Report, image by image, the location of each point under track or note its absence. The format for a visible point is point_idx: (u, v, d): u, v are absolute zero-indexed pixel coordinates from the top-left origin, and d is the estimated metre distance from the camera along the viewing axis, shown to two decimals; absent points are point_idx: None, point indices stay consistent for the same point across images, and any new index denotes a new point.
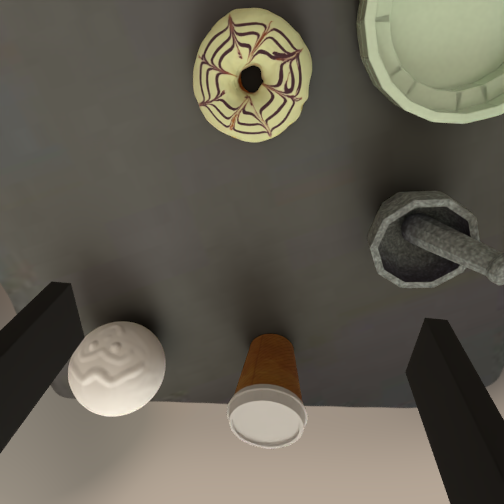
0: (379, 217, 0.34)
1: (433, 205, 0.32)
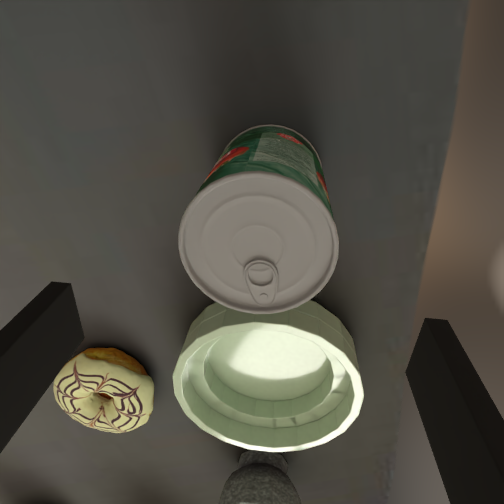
0: (220, 499, 0.40)
1: None
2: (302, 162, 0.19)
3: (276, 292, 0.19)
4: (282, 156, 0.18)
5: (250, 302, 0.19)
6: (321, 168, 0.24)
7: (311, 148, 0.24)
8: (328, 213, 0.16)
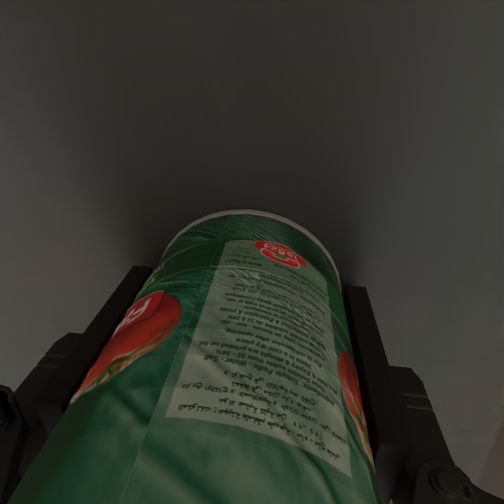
0: None
1: None
2: (307, 364, 0.08)
3: None
4: (255, 369, 0.07)
5: None
6: (341, 299, 0.13)
7: (322, 257, 0.13)
8: None
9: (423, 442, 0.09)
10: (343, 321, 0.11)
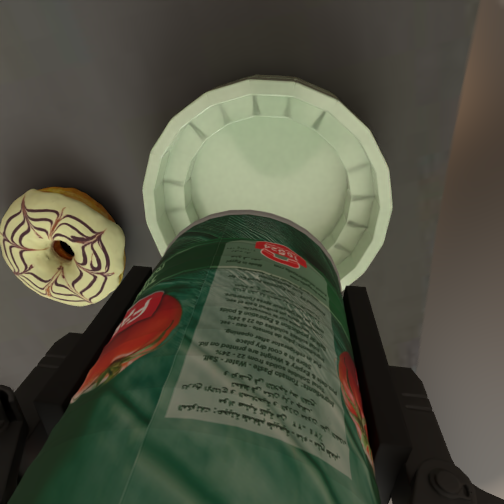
0: None
1: None
2: (307, 365, 0.08)
3: None
4: (255, 369, 0.07)
5: None
6: (341, 299, 0.13)
7: (322, 258, 0.13)
8: None
9: (422, 442, 0.09)
10: (343, 322, 0.11)
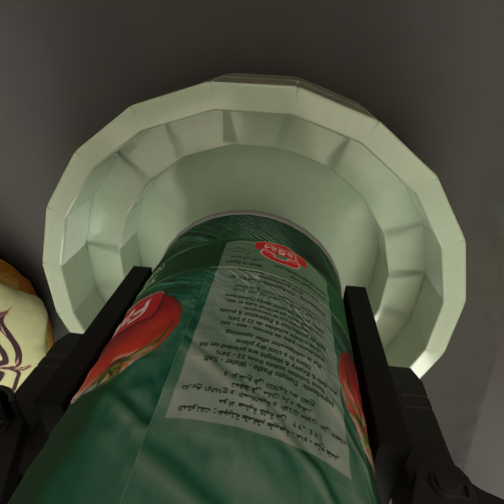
0: None
1: None
2: (307, 365, 0.08)
3: None
4: (255, 370, 0.07)
5: None
6: (341, 300, 0.13)
7: (322, 258, 0.13)
8: None
9: (423, 442, 0.09)
10: (343, 322, 0.11)
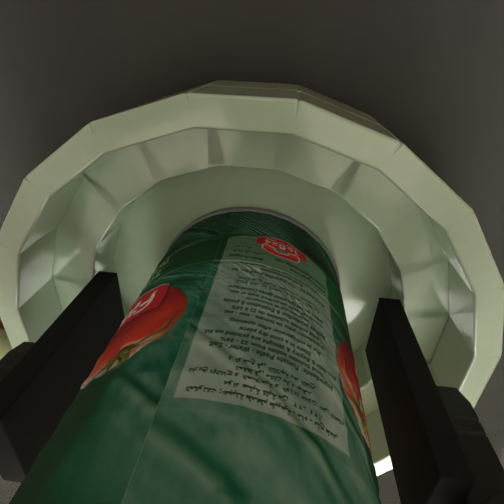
0: None
1: None
2: (307, 352, 0.08)
3: None
4: (258, 355, 0.07)
5: None
6: (340, 293, 0.13)
7: (322, 253, 0.13)
8: None
9: (481, 472, 0.09)
10: (342, 314, 0.12)
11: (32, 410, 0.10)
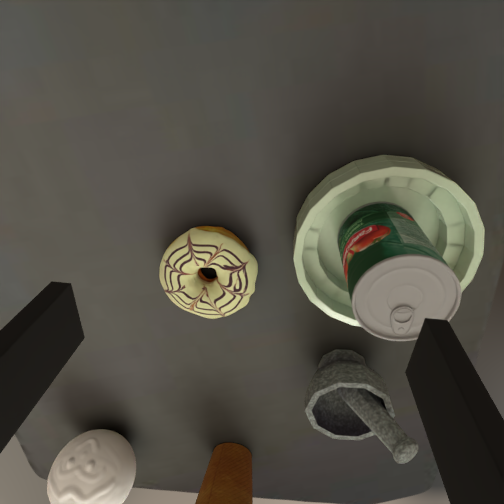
0: (313, 386, 0.41)
1: (354, 386, 0.38)
2: (428, 240, 0.29)
3: (410, 327, 0.28)
4: (418, 238, 0.28)
5: (390, 333, 0.29)
6: None
7: None
8: (458, 281, 0.26)
9: None
10: None
11: None
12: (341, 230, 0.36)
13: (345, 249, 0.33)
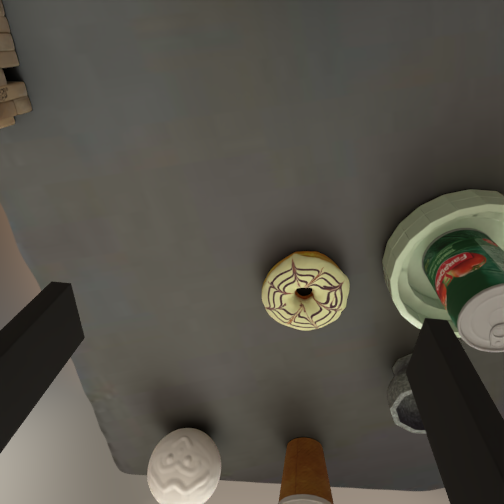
0: (397, 388, 0.46)
1: None
2: None
3: None
4: None
5: (488, 345, 0.34)
6: None
7: None
8: None
9: None
10: None
11: None
12: (428, 253, 0.41)
13: (439, 272, 0.38)
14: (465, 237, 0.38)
